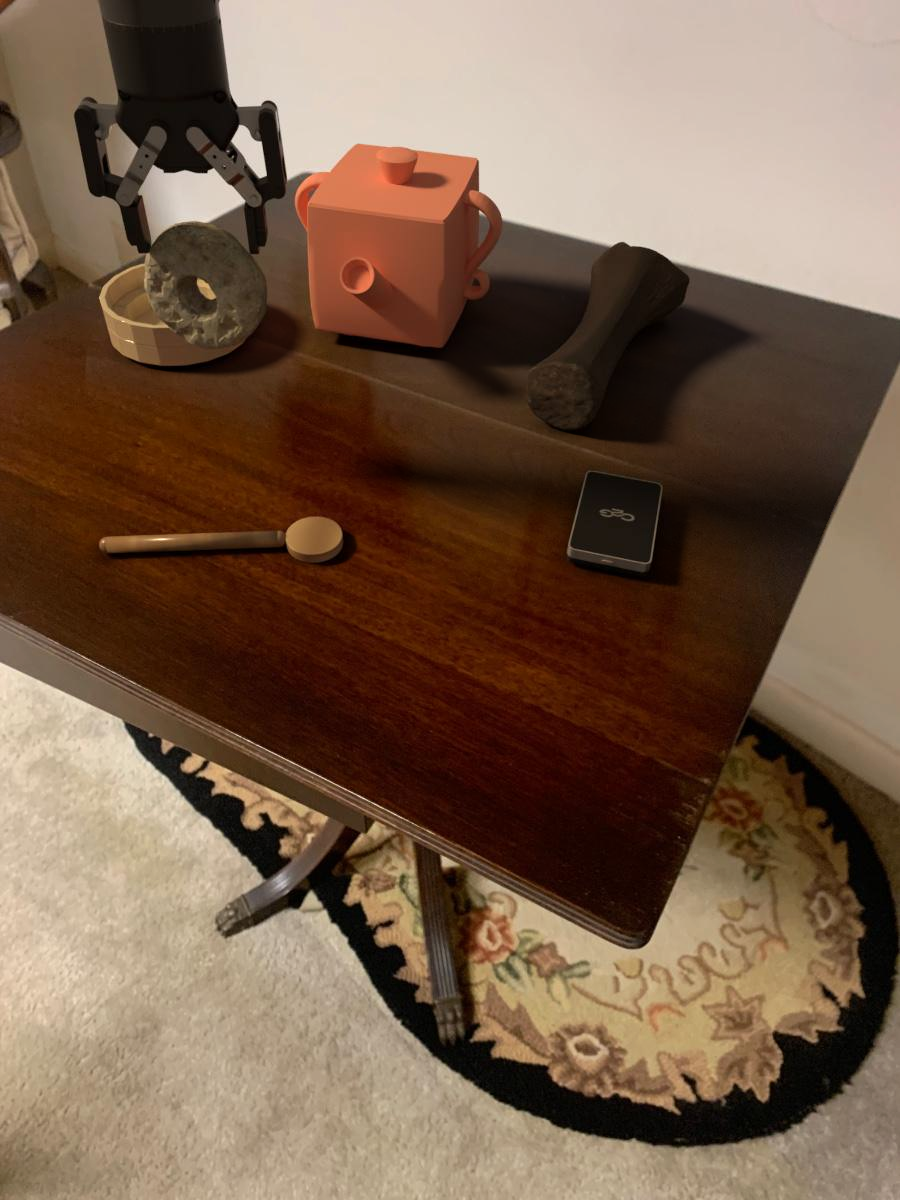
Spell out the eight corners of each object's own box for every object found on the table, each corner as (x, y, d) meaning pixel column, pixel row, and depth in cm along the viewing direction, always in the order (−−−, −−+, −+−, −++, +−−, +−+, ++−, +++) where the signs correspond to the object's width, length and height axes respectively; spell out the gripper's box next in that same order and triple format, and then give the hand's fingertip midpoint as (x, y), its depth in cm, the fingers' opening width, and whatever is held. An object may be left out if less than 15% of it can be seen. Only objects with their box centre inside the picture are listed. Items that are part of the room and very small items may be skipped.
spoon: (96, 571, 72) (91, 559, 71) (106, 532, 76) (102, 519, 75) (343, 562, 74) (342, 549, 73) (343, 523, 77) (342, 511, 76)
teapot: (464, 406, 90) (474, 234, 77) (255, 373, 93) (230, 201, 80) (507, 291, 107) (521, 134, 94) (329, 266, 110) (318, 110, 97)
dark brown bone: (620, 316, 108) (536, 464, 93) (589, 237, 102) (494, 381, 86) (706, 297, 101) (632, 454, 86) (679, 211, 95) (593, 363, 80)
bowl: (100, 372, 92) (87, 328, 89) (123, 300, 103) (113, 258, 99) (247, 369, 94) (241, 326, 90) (256, 298, 104) (250, 257, 100)
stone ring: (150, 341, 75) (123, 223, 68) (171, 321, 77) (148, 205, 70) (259, 365, 73) (243, 246, 66) (278, 344, 75) (265, 227, 68)
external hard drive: (658, 500, 81) (663, 483, 79) (645, 583, 73) (650, 566, 72) (583, 486, 82) (586, 469, 80) (563, 566, 75) (566, 549, 73)
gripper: (32, 19, 54) (98, 272, 66) (267, 24, 55) (291, 272, 67) (59, -12, 59) (116, 228, 71) (274, -6, 61) (295, 229, 72)
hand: (201, 249), depth 69 cm, fingers closed on stone ring, 8 cm apart
